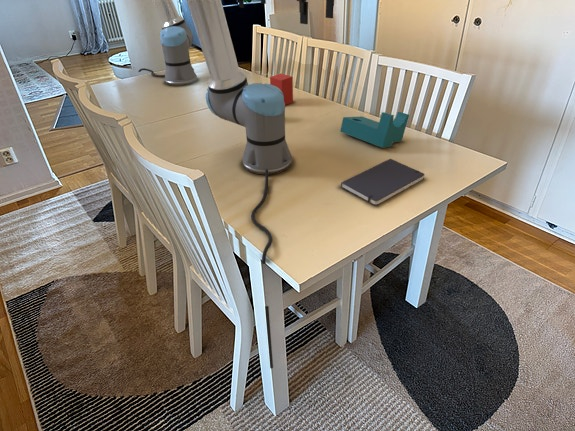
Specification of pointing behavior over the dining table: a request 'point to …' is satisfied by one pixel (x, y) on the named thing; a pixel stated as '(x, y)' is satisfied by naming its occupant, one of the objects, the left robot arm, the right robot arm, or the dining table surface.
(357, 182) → the notebook
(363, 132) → the teal l-shaped bracket
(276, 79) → the block
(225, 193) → the dining table surface
